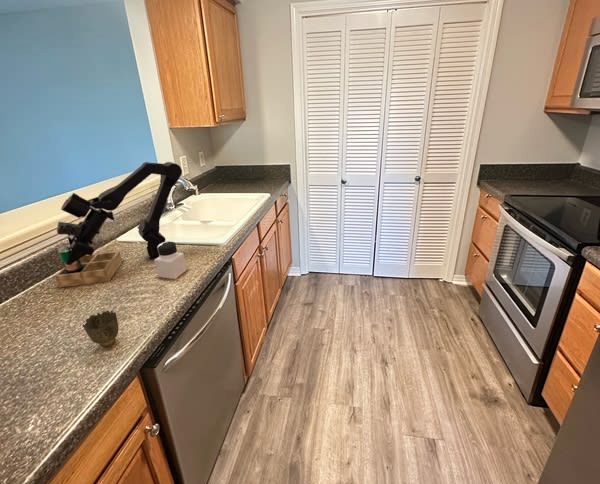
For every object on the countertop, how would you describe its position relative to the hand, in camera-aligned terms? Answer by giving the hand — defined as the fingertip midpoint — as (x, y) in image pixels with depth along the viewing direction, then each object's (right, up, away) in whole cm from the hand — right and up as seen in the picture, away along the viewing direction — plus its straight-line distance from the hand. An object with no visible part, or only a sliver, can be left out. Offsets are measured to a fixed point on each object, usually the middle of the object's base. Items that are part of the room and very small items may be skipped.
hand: (66, 261), depth 113 cm
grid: (+4, -5, +8) cm, 10 cm away
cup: (+32, -20, -29) cm, 47 cm away
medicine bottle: (+35, -5, +5) cm, 36 cm away
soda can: (+1, -6, +3) cm, 7 cm away
